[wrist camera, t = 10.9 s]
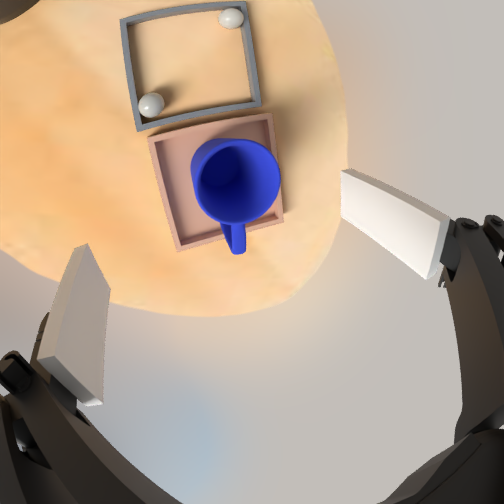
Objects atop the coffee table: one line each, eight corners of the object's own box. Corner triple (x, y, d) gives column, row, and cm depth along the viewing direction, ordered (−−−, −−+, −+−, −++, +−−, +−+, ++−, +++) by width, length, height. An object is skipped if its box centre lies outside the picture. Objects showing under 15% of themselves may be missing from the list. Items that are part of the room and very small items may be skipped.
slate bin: (121, 23, 20) (119, 19, 19) (242, 5, 23) (245, 1, 22) (138, 131, 28) (137, 132, 26) (257, 106, 31) (261, 106, 30)
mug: (190, 228, 35) (203, 267, 27) (181, 135, 29) (190, 143, 21) (249, 218, 37) (279, 252, 29) (247, 130, 31) (281, 137, 23)
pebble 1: (137, 97, 25) (135, 95, 23) (162, 90, 26) (162, 88, 24) (141, 120, 27) (140, 120, 25) (166, 114, 28) (166, 113, 25)
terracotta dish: (147, 136, 28) (146, 138, 27) (266, 113, 31) (272, 113, 30) (176, 245, 36) (177, 252, 34) (278, 217, 39) (283, 222, 38)
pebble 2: (214, 13, 23) (219, 5, 20) (238, 12, 23) (245, 4, 21) (217, 32, 24) (223, 25, 22) (241, 31, 25) (248, 24, 22)
